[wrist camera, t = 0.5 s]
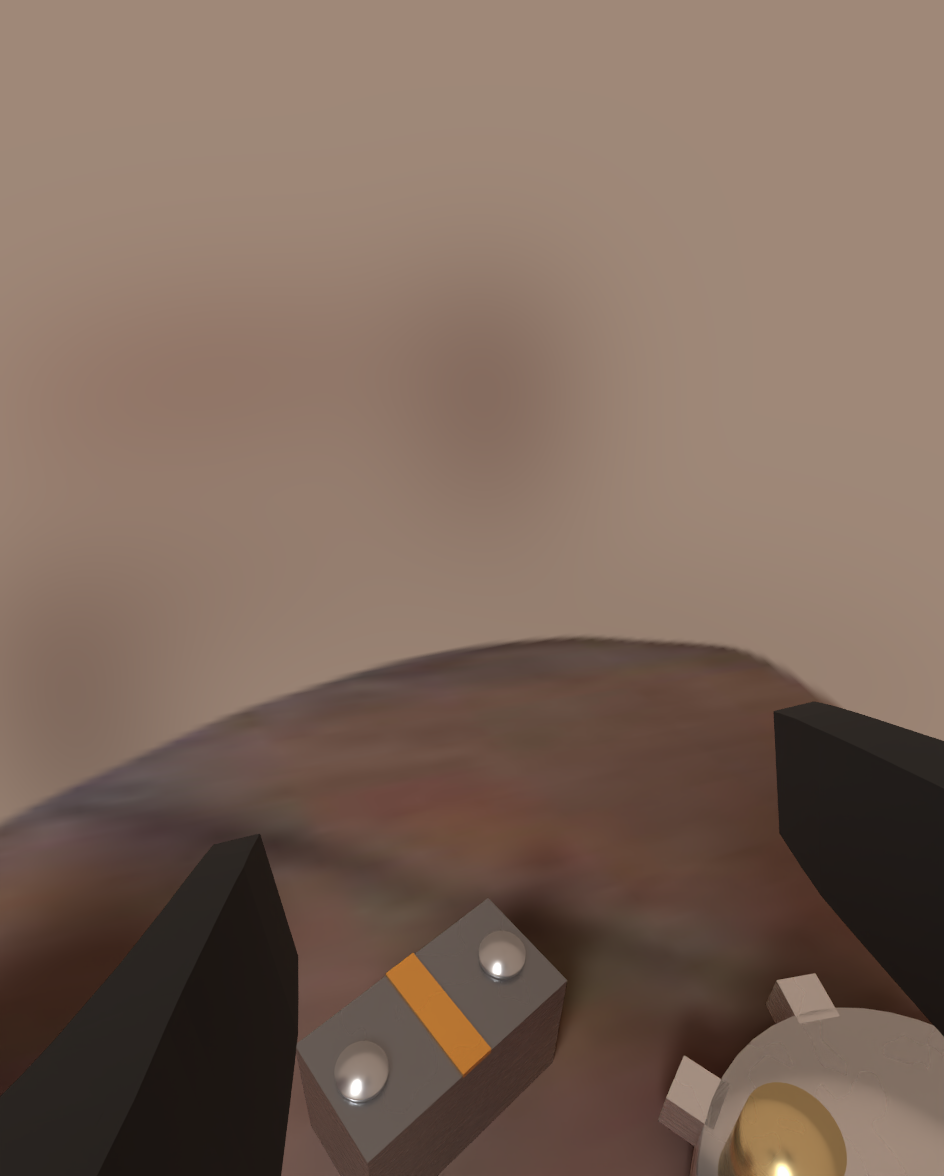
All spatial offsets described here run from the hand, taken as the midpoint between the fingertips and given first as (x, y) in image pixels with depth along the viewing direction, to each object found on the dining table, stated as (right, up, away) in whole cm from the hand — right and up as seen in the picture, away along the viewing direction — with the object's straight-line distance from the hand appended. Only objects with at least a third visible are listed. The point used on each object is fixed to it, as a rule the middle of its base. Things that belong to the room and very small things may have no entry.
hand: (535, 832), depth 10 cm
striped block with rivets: (-2, -13, +14) cm, 19 cm away
